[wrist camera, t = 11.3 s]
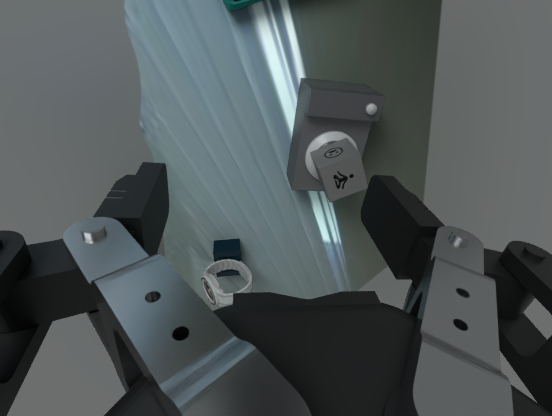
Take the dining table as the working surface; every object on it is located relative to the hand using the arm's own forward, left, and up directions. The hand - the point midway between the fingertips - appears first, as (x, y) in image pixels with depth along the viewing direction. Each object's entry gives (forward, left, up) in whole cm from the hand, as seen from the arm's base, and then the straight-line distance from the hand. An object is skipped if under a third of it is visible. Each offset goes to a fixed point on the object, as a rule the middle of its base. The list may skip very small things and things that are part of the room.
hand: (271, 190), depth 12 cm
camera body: (+8, +12, -32) cm, 35 cm away
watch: (+31, -1, -32) cm, 45 cm away
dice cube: (+10, +12, -26) cm, 31 cm away
